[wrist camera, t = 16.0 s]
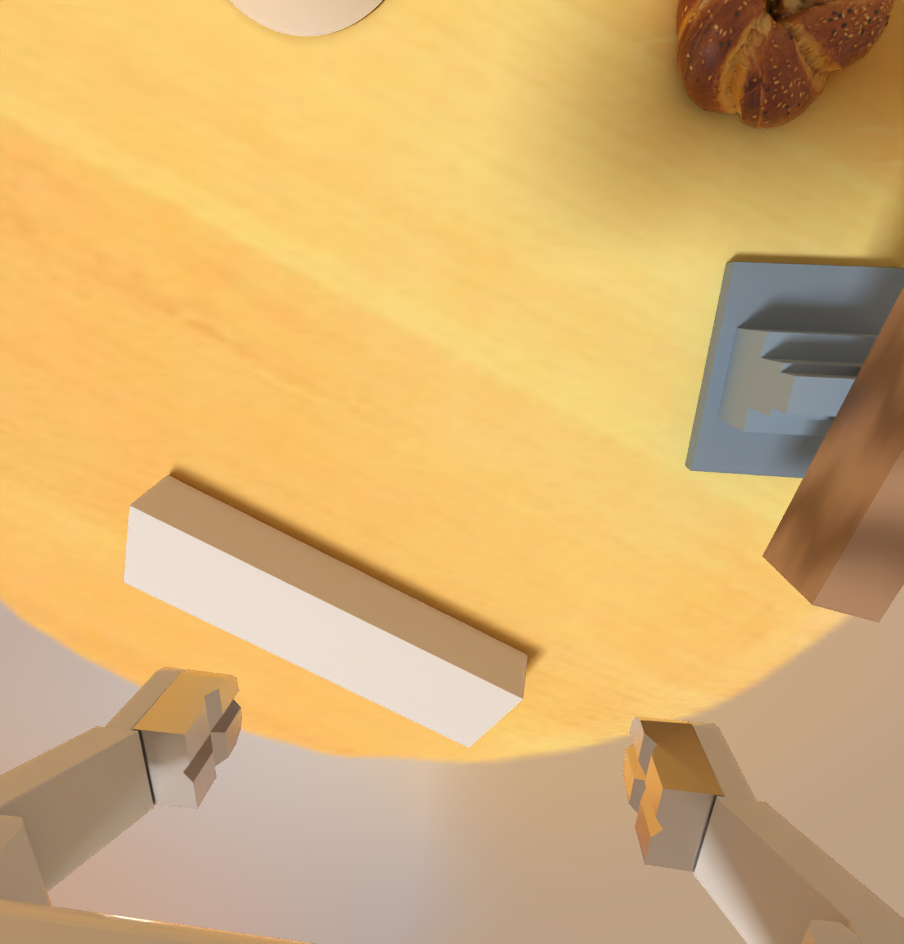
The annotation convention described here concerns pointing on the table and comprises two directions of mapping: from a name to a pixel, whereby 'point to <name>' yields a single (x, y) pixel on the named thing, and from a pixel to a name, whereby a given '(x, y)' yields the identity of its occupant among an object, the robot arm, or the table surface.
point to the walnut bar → (853, 494)
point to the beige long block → (319, 612)
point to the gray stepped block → (784, 362)
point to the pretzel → (770, 52)
